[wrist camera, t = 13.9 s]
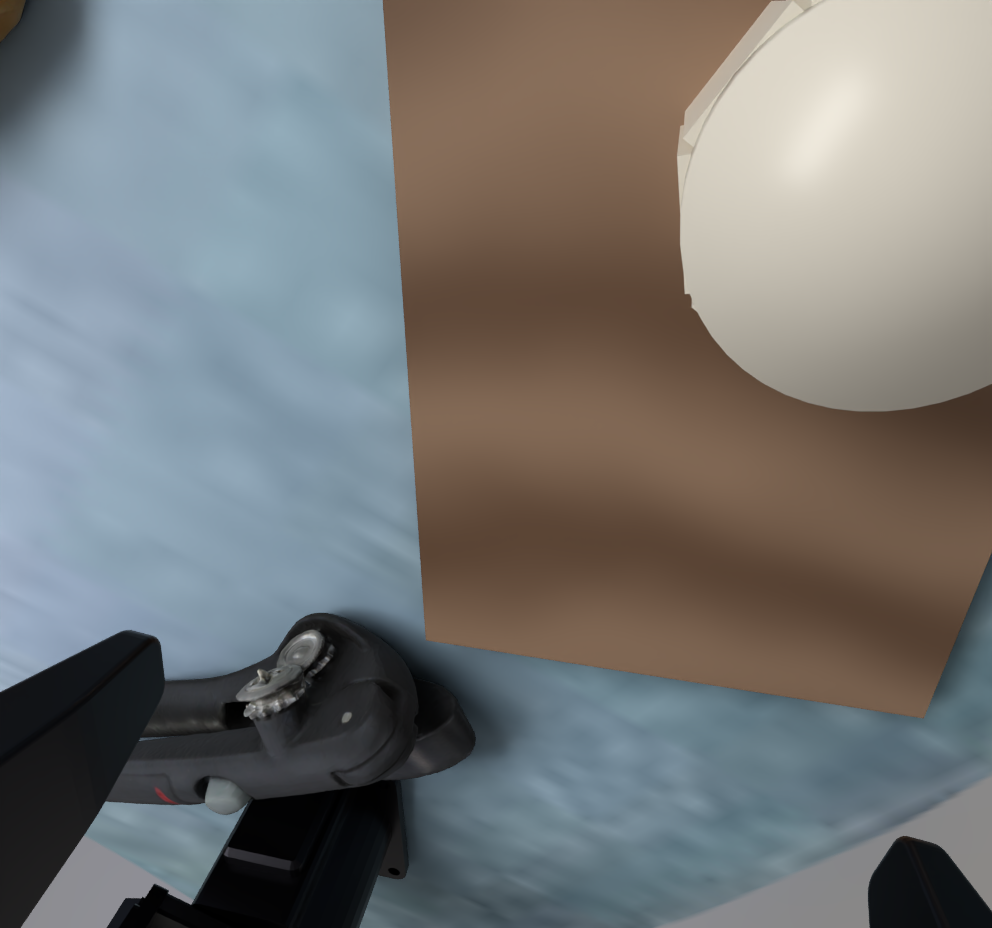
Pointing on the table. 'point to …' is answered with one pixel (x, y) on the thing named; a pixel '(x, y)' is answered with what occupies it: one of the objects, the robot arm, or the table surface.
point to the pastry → (9, 15)
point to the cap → (847, 201)
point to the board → (640, 387)
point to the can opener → (296, 725)
